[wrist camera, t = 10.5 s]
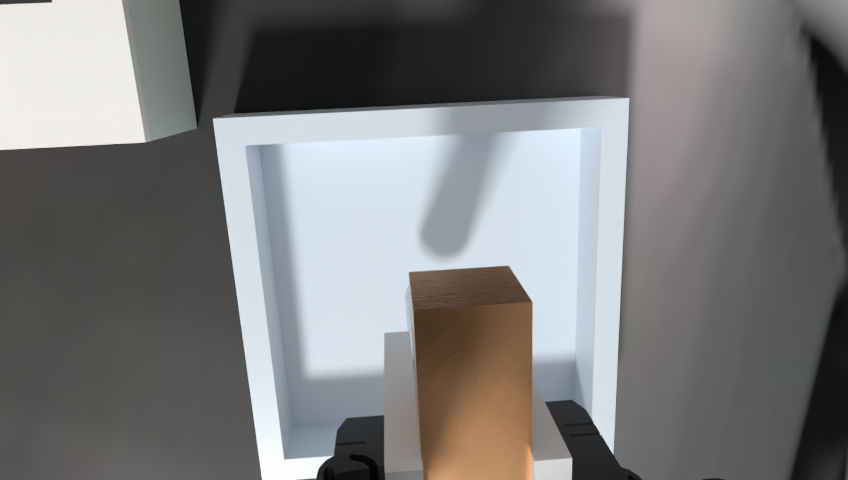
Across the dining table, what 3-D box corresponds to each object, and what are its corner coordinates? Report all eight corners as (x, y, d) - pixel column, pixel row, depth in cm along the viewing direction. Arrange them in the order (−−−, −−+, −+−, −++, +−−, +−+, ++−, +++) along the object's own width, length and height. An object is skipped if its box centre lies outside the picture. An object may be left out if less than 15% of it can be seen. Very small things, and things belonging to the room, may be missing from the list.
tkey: (398, 188, 23) (413, 309, 11) (456, 185, 23) (532, 301, 11) (410, 400, 25) (433, 686, 13) (462, 396, 25) (531, 677, 13)
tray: (275, 440, 28) (262, 482, 25) (233, 113, 24) (212, 118, 21) (590, 416, 29) (613, 454, 26) (600, 95, 25) (629, 98, 22)
